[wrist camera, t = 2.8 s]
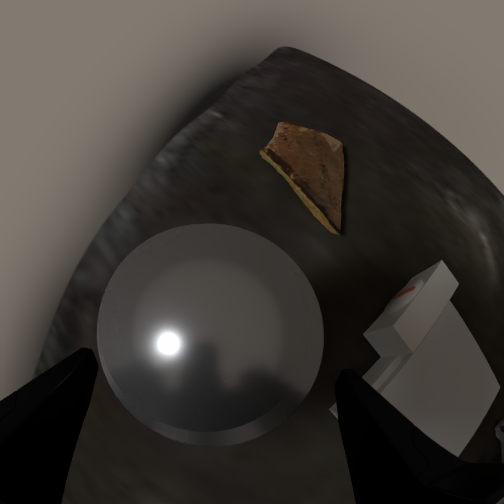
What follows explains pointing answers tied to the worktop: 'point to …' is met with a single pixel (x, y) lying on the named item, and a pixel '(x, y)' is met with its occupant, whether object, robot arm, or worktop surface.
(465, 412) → the kitchen scale
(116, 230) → the worktop surface
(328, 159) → the shard
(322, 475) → the worktop surface
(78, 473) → the worktop surface
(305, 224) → the worktop surface
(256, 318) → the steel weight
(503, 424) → the combination wrench
